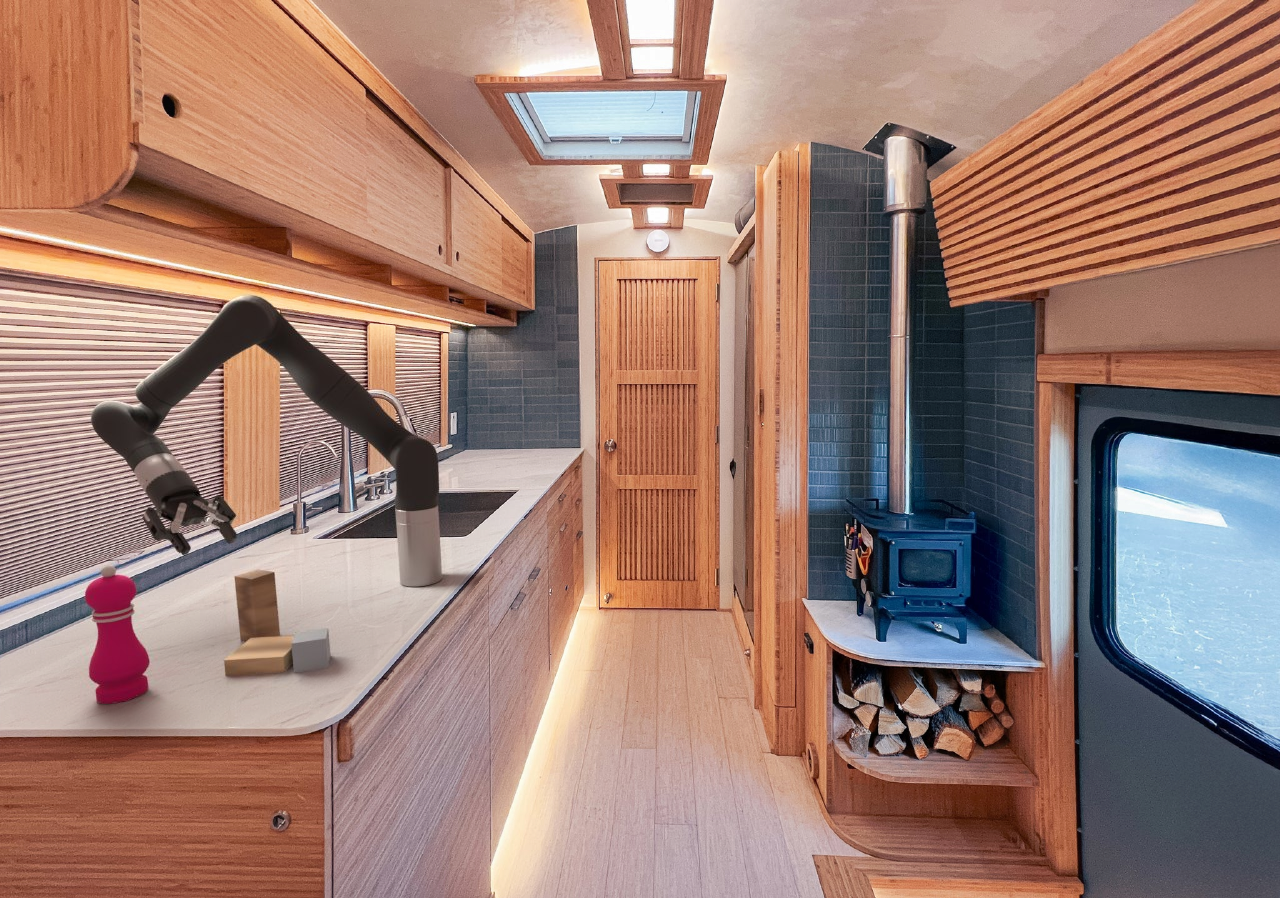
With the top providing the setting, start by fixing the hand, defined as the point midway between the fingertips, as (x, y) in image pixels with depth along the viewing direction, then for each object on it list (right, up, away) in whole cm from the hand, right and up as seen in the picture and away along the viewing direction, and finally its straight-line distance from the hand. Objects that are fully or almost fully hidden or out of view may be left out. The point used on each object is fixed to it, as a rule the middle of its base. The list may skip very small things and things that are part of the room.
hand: (210, 546), depth 125 cm
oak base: (+18, -18, -13) cm, 28 cm away
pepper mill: (+2, -19, -24) cm, 30 cm away
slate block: (+26, -17, -14) cm, 35 cm away
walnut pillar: (+11, -16, -3) cm, 20 cm away
